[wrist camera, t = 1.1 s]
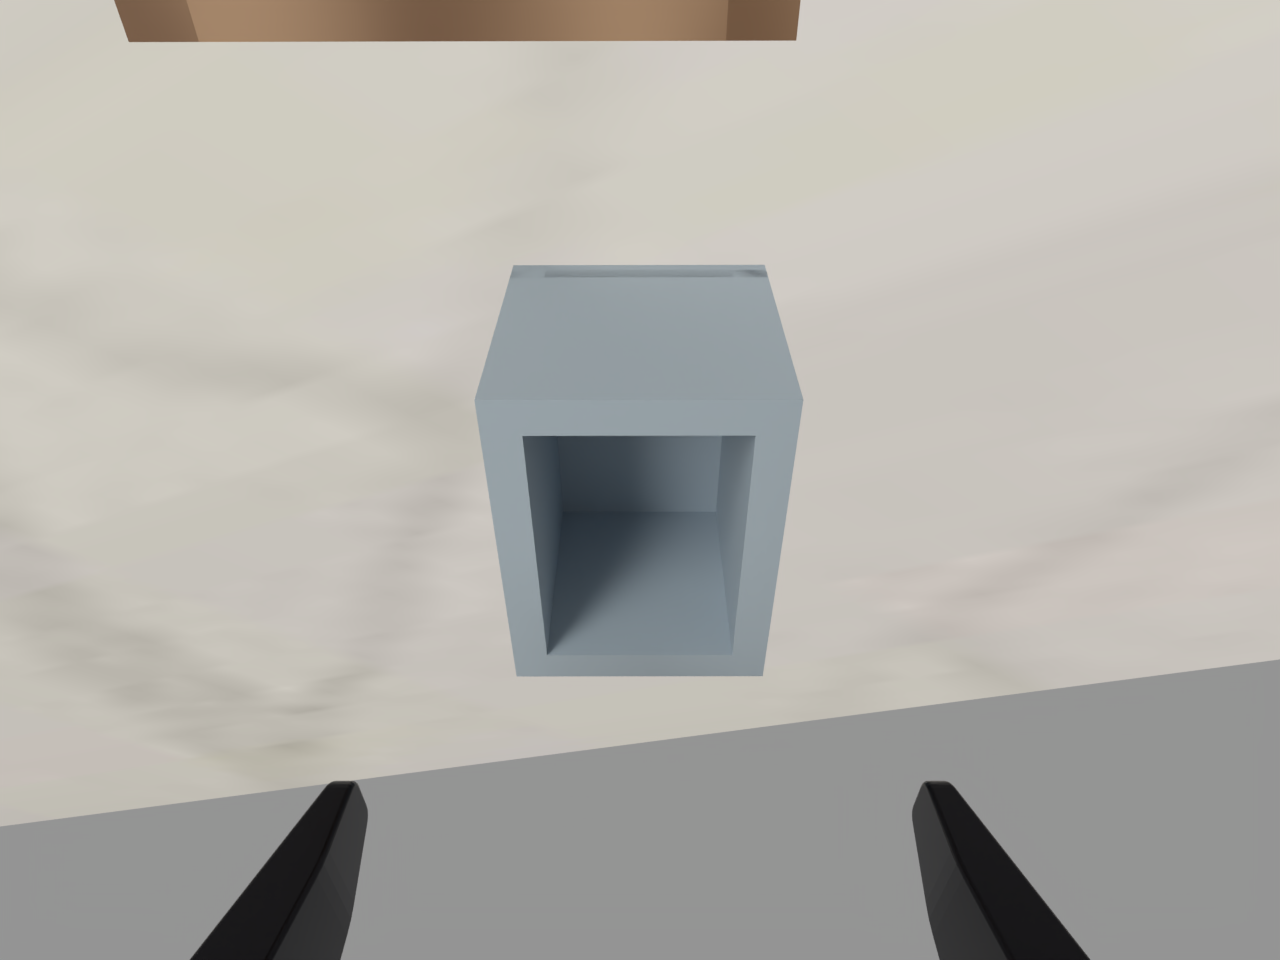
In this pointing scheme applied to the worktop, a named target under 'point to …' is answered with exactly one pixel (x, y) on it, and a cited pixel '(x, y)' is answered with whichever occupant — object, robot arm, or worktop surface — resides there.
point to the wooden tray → (457, 20)
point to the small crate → (639, 466)
